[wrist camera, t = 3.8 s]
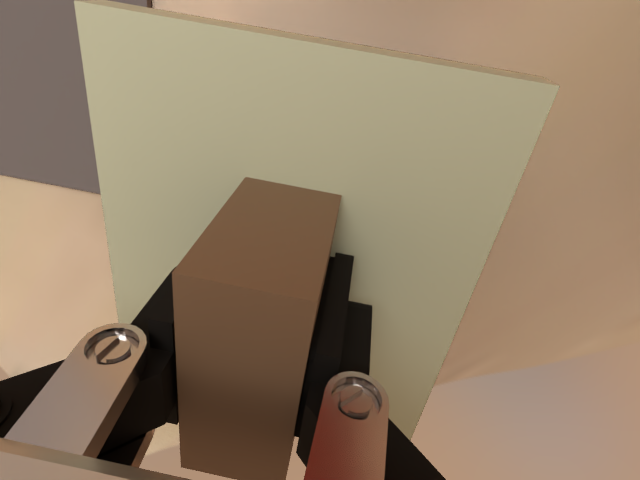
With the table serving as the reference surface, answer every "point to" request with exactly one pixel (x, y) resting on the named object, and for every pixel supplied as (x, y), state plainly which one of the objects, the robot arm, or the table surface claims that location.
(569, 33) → the table surface
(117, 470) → the robot arm
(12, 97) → the mat
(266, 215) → the lid
